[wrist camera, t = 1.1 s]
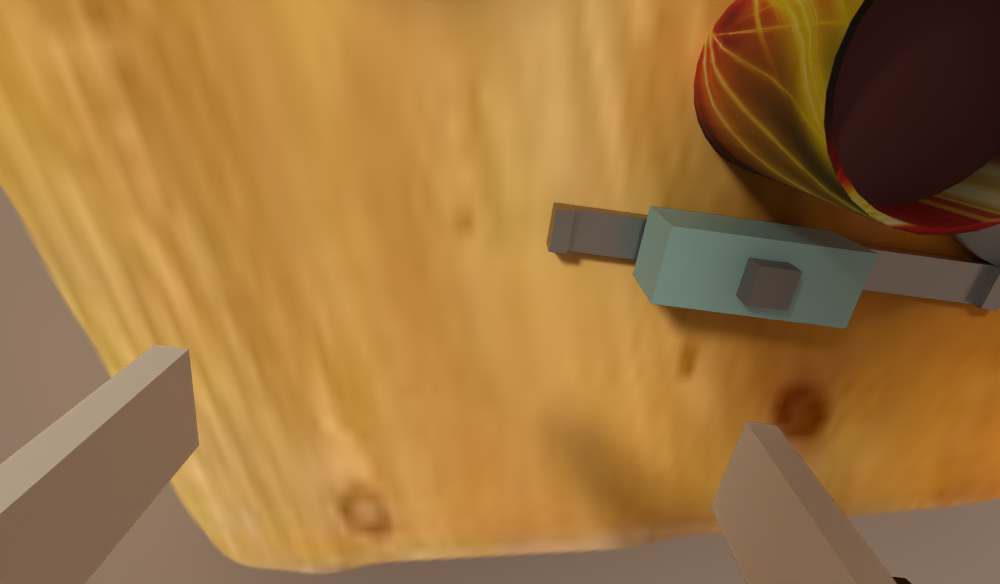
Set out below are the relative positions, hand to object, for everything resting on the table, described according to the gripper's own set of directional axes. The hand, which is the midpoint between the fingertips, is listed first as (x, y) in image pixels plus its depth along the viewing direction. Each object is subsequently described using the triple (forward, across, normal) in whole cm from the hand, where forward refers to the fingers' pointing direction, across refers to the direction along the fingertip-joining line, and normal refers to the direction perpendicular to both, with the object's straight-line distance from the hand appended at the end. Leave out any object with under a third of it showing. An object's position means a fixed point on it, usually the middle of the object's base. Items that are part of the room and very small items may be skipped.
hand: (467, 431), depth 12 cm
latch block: (+17, +13, +1) cm, 22 cm away
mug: (+19, +13, +12) cm, 26 cm away
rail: (+19, +16, +1) cm, 25 cm away
